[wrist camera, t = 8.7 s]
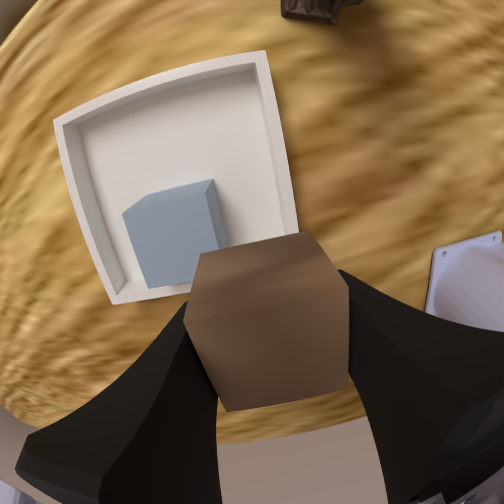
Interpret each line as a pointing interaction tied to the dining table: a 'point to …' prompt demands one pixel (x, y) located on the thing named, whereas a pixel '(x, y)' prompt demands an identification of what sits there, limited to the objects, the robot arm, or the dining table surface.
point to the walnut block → (270, 321)
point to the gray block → (175, 231)
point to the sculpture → (314, 9)
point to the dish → (177, 159)
